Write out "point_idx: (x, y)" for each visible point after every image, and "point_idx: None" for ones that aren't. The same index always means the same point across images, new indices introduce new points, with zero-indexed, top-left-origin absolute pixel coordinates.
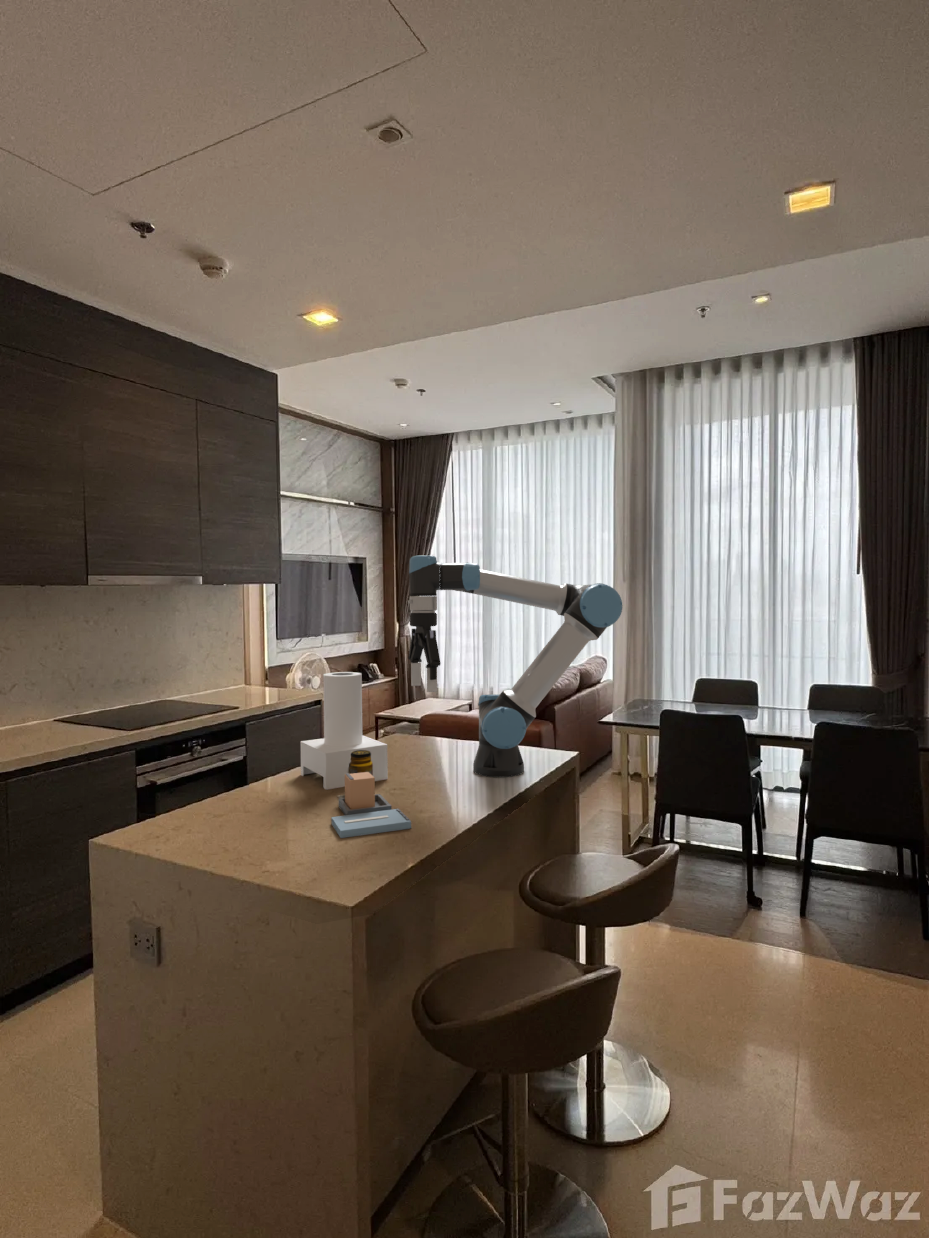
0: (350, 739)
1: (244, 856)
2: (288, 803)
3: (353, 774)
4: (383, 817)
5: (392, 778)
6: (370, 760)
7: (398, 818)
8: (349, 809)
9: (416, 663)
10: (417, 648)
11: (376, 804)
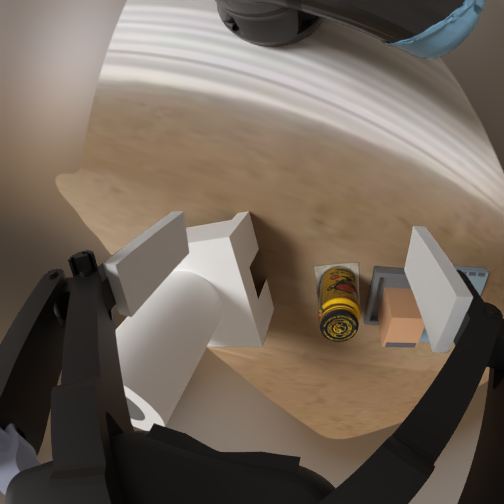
0: (217, 309)
1: None
2: (315, 355)
3: (391, 338)
4: None
5: (249, 202)
6: (350, 307)
7: (473, 282)
8: None
9: (125, 291)
10: (119, 395)
11: (394, 279)
